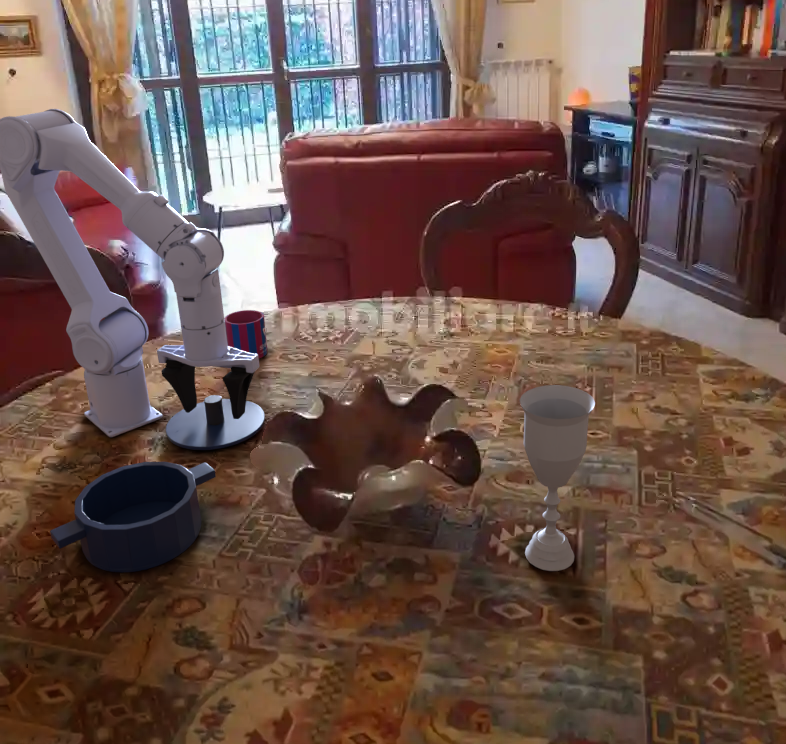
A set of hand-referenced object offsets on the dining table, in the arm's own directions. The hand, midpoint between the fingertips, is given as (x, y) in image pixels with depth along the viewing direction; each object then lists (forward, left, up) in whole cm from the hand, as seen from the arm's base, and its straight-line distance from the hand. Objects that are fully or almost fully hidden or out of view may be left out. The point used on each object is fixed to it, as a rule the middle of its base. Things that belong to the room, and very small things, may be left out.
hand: (214, 412), depth 105 cm
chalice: (+49, +11, -3) cm, 50 cm away
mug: (-20, +16, -3) cm, 26 cm away
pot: (+15, -18, -3) cm, 24 cm away
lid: (0, 0, -2) cm, 2 cm away
